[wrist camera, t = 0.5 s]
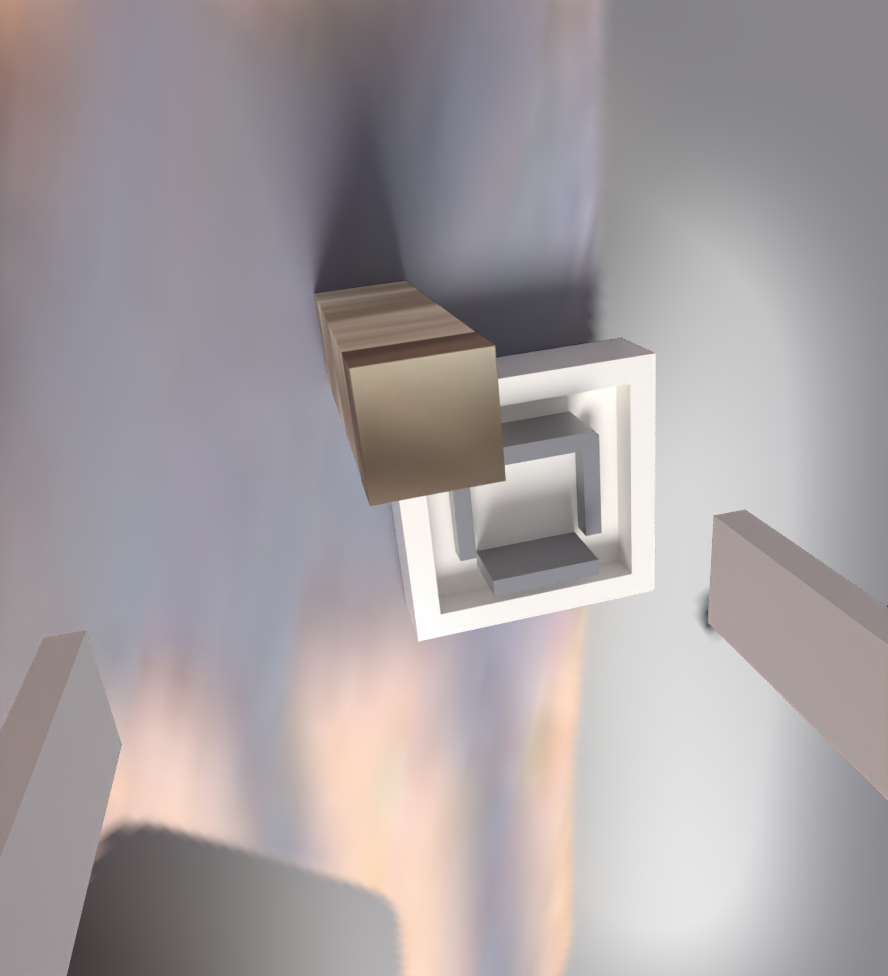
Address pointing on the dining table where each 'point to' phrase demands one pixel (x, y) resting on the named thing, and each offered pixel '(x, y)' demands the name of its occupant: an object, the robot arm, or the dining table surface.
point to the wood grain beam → (411, 392)
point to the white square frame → (544, 498)
